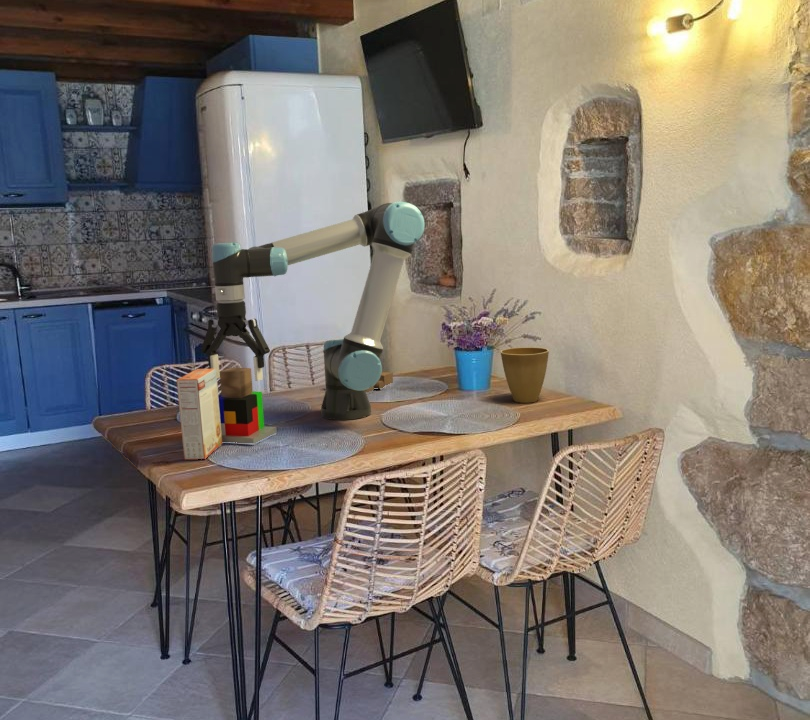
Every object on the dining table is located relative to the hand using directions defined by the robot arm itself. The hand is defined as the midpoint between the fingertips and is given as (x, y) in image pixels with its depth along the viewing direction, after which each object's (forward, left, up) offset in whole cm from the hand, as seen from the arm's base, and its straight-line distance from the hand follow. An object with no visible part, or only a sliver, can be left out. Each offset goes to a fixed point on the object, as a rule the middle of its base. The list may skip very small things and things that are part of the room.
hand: (237, 379), depth 220 cm
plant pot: (-65, -62, -17) cm, 91 cm away
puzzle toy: (0, 0, -14) cm, 15 cm away
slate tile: (0, 0, -16) cm, 16 cm away
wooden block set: (-5, -69, -17) cm, 71 cm away
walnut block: (0, 0, -4) cm, 4 cm away
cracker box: (+2, +15, -17) cm, 22 cm away
